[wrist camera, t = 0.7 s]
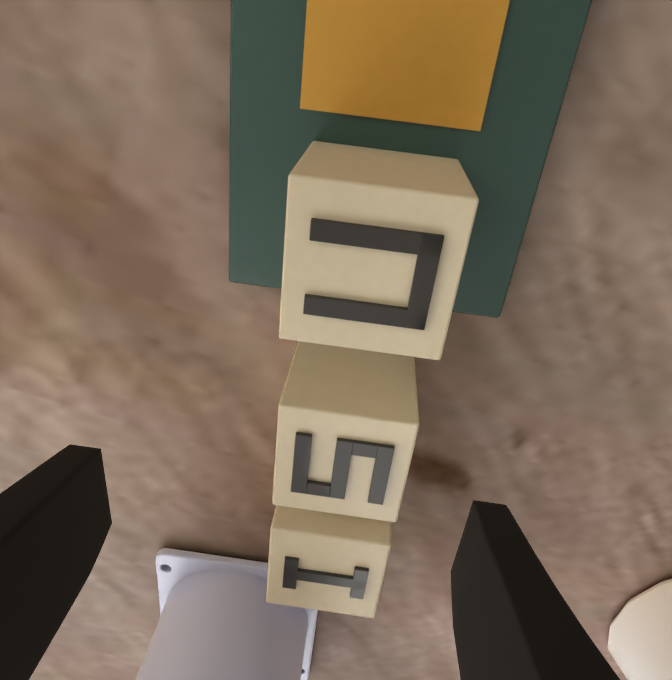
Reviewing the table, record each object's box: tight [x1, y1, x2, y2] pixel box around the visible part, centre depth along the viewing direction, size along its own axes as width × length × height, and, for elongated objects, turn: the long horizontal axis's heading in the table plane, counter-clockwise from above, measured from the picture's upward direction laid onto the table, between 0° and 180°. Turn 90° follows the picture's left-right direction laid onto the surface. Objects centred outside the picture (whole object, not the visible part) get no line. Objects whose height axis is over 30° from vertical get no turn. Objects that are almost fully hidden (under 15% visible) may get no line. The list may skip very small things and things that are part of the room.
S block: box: [272, 341, 419, 522], centre depth 19 cm, size 4×4×4 cm
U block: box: [279, 141, 479, 360], centre depth 15 cm, size 4×4×4 cm
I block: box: [266, 505, 391, 618], centre depth 21 cm, size 4×4×4 cm
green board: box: [229, 0, 592, 318], centre depth 15 cm, size 11×9×1 cm
